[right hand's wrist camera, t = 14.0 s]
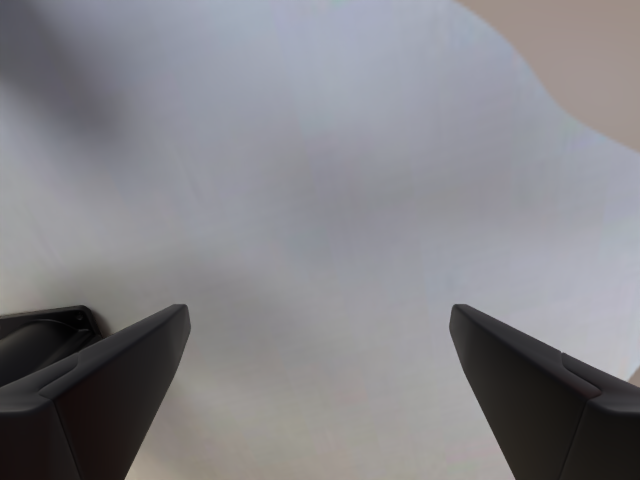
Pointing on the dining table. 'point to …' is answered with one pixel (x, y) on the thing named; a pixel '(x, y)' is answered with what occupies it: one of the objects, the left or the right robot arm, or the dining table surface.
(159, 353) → the right robot arm
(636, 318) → the dining table surface
